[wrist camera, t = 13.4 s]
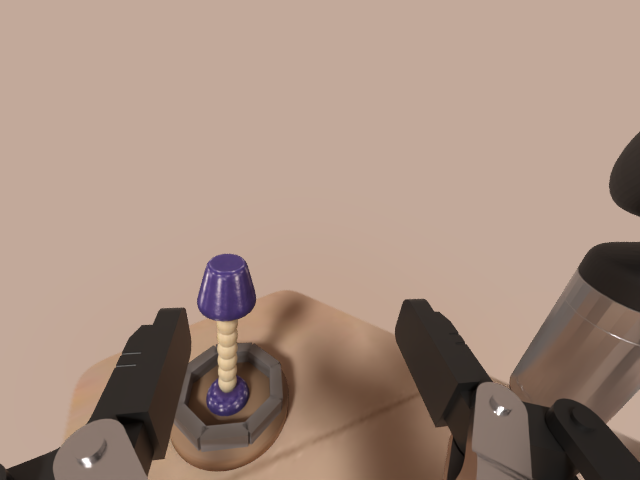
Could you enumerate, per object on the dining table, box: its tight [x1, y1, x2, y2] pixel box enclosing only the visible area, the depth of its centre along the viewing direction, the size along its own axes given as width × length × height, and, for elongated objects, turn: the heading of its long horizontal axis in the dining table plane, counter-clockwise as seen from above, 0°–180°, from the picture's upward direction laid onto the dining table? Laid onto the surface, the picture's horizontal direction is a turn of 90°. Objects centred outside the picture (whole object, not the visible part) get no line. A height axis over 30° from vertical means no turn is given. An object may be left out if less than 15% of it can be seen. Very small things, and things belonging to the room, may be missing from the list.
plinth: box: [170, 343, 288, 471], centre depth 32 cm, size 12×12×4 cm
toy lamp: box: [197, 254, 256, 416], centre depth 27 cm, size 5×5×17 cm
